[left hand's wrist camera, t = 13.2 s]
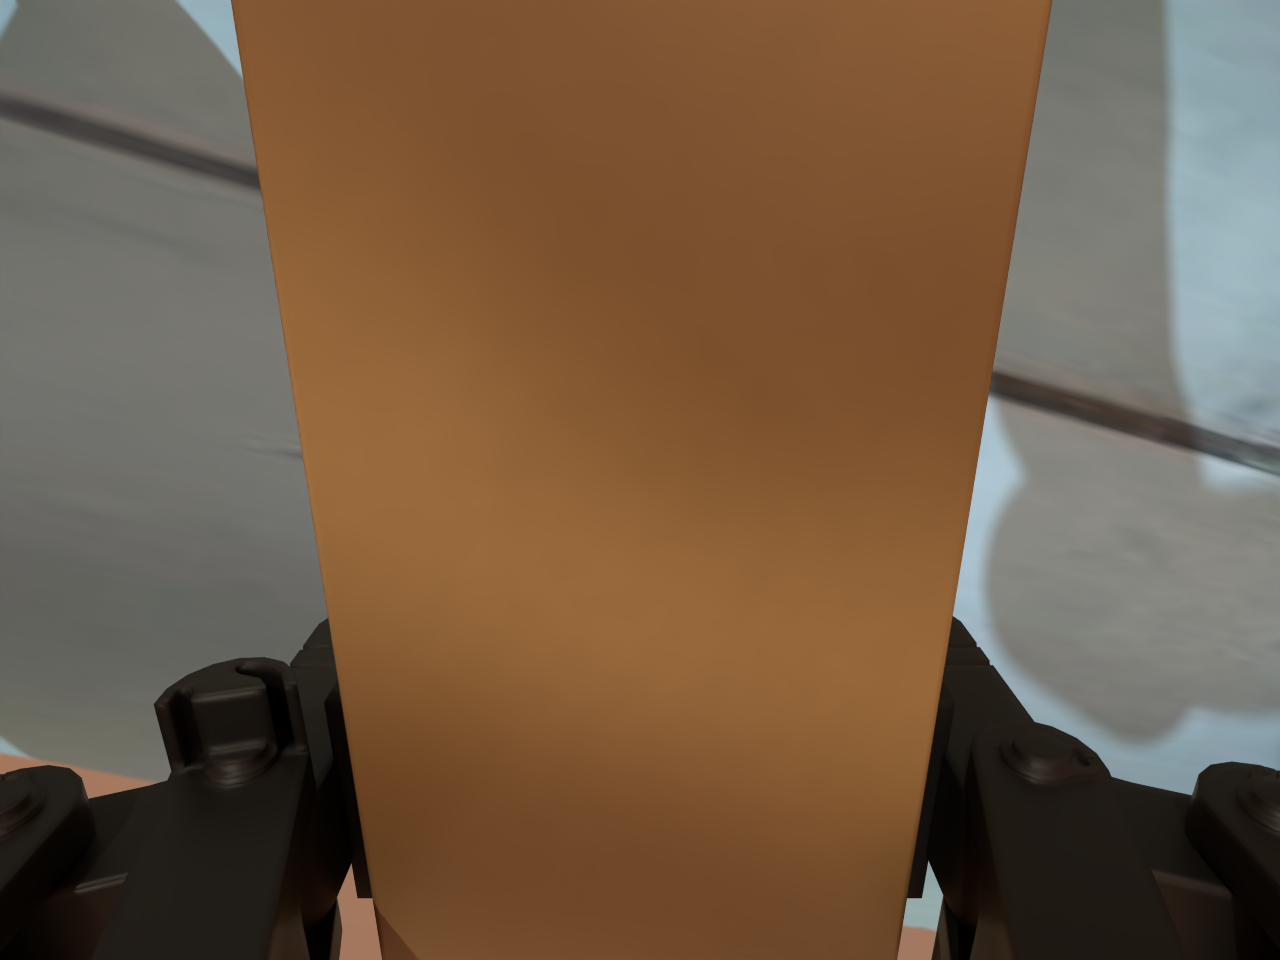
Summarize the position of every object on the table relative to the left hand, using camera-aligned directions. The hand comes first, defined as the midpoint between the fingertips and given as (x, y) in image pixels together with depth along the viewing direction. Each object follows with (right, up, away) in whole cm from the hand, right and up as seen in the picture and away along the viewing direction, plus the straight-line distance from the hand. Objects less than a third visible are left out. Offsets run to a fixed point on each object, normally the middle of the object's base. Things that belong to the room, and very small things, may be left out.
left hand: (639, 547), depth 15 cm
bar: (0, +28, -10) cm, 29 cm away
